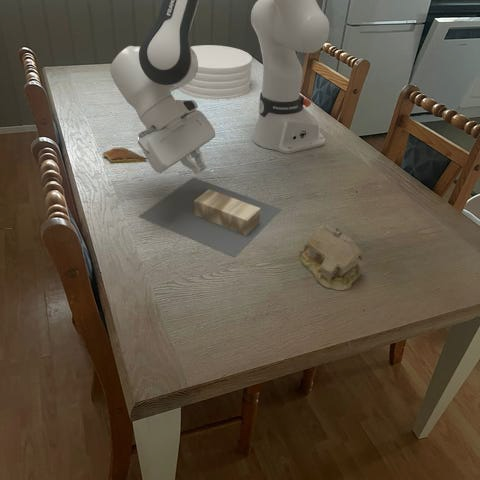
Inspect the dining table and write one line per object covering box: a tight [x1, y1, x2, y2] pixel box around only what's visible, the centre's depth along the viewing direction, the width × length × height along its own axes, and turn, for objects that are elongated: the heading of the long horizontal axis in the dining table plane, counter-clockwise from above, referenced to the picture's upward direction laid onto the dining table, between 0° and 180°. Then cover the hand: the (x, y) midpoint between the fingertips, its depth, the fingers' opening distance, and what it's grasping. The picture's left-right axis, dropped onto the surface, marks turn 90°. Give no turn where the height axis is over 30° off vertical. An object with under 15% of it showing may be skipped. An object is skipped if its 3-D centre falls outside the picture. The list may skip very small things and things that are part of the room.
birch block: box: [194, 189, 261, 235], centre depth 107 cm, size 4×6×14 cm
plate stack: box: [177, 44, 253, 101], centre depth 175 cm, size 28×28×12 cm
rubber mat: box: [137, 177, 282, 258], centre depth 110 cm, size 26×22×1 cm
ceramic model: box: [299, 223, 364, 291], centre depth 94 cm, size 14×11×10 cm
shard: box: [102, 146, 147, 164], centre depth 128 cm, size 11×8×2 cm
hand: (201, 171), depth 105 cm, fingers closed
